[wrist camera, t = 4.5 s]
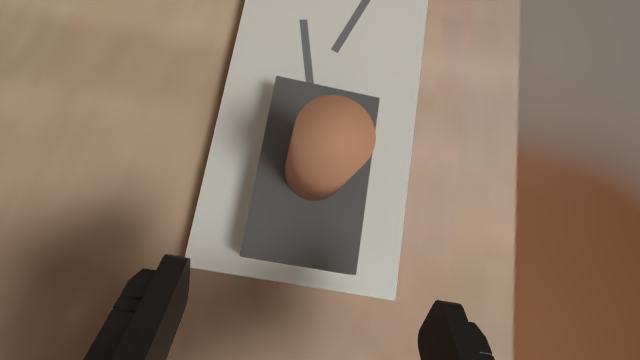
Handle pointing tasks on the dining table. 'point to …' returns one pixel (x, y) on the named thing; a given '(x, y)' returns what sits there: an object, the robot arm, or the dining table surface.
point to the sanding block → (312, 178)
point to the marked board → (327, 70)
